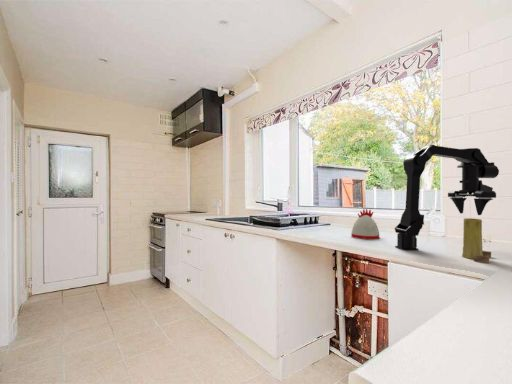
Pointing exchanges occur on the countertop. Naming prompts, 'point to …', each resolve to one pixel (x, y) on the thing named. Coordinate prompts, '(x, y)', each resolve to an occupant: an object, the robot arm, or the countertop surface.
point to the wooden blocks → (483, 257)
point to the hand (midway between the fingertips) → (470, 214)
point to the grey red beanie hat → (365, 227)
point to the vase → (472, 238)
